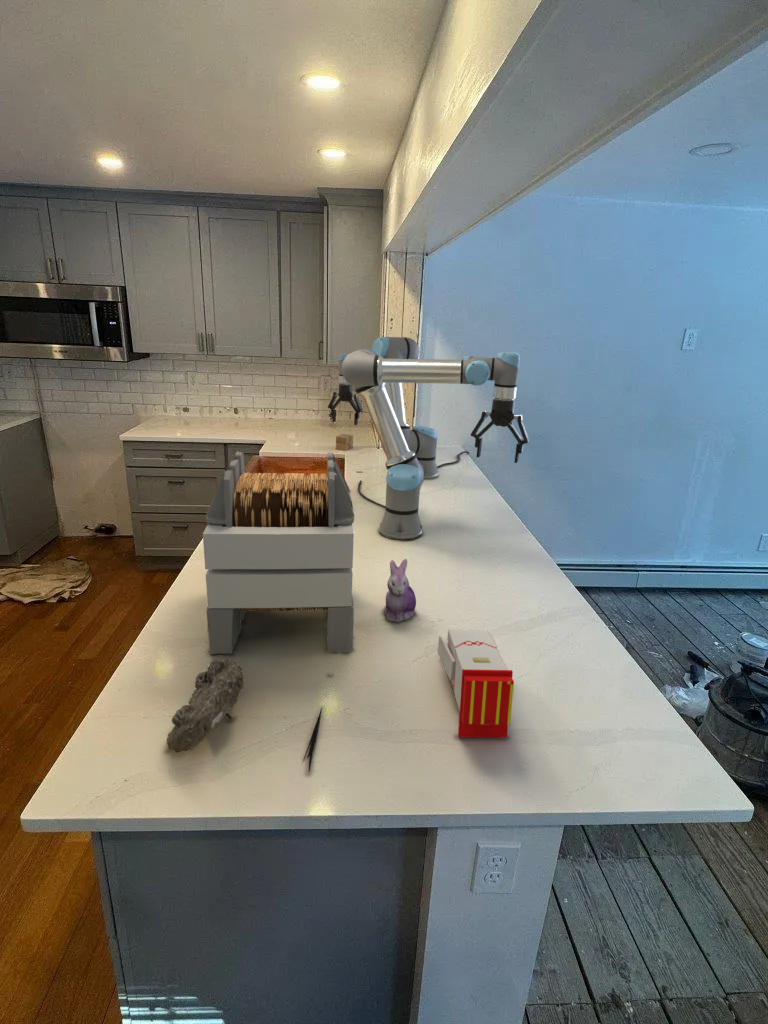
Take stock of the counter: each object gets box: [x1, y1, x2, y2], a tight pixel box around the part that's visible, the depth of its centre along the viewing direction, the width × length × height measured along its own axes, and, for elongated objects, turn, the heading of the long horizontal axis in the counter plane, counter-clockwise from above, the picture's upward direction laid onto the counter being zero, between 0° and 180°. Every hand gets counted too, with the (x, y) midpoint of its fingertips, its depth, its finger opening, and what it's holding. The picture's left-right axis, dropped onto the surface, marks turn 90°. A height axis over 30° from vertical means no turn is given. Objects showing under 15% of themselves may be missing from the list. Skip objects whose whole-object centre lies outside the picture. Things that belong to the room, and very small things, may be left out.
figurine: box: [384, 558, 417, 623], centre depth 145 cm, size 9×10×15 cm
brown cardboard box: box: [335, 433, 354, 451], centre depth 315 cm, size 9×6×7 cm
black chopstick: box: [301, 673, 332, 771], centre depth 108 cm, size 2×28×2 cm
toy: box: [437, 628, 515, 738], centre depth 117 cm, size 12×13×30 cm
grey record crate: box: [202, 451, 355, 655], centre depth 137 cm, size 34×33×41 cm
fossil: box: [166, 658, 245, 754], centre depth 106 cm, size 22×10×15 cm
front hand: (497, 459), depth 201 cm, fingers open, 13 cm apart
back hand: (344, 423), depth 311 cm, fingers open, 13 cm apart
